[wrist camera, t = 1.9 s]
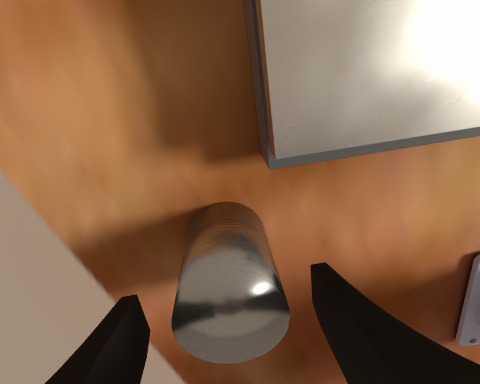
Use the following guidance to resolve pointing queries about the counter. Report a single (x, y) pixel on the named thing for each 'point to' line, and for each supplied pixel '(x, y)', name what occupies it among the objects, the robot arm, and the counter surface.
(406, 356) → the robot arm
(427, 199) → the counter surface
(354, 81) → the scale pan
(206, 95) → the counter surface
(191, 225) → the steel weight
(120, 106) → the counter surface
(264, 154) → the scale
